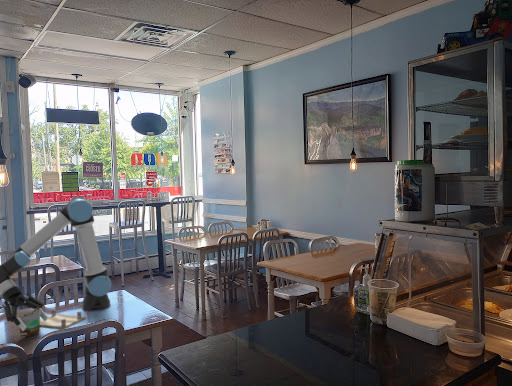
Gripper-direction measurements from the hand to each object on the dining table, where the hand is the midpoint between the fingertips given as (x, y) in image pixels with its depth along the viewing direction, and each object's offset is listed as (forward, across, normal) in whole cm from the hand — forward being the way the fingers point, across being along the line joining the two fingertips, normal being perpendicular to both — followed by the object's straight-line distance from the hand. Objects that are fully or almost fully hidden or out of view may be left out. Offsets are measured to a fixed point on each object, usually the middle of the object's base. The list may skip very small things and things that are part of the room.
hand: (36, 324), depth 193 cm
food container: (+2, -1, -5) cm, 5 cm away
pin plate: (+2, -17, -7) cm, 19 cm away
